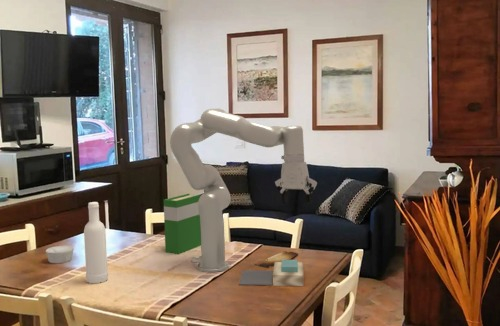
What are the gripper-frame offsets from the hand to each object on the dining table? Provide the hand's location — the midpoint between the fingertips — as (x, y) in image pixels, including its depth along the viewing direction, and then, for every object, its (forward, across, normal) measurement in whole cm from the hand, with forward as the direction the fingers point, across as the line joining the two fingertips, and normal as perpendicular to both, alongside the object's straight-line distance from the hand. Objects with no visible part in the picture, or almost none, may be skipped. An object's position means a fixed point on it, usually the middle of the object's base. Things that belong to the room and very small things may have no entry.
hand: (296, 203), depth 202 cm
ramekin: (+23, -99, -33) cm, 107 cm away
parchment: (+28, -17, +14) cm, 35 cm away
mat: (+27, -13, -12) cm, 32 cm away
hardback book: (+25, -64, +8) cm, 69 cm away
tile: (+24, -1, -6) cm, 24 cm away
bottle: (+25, -64, -43) cm, 81 cm away
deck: (+28, -2, -6) cm, 28 cm away
